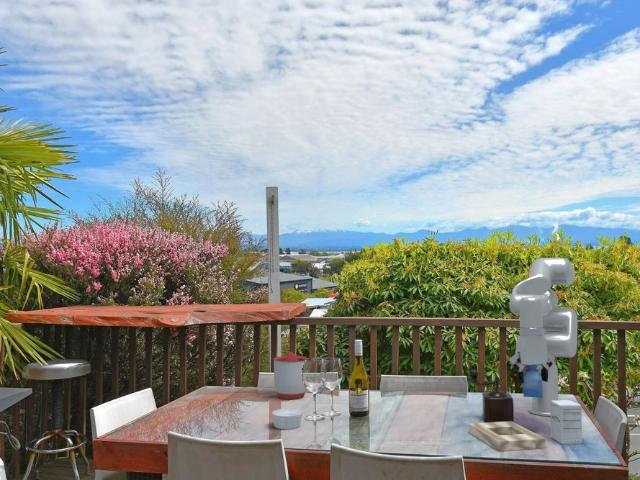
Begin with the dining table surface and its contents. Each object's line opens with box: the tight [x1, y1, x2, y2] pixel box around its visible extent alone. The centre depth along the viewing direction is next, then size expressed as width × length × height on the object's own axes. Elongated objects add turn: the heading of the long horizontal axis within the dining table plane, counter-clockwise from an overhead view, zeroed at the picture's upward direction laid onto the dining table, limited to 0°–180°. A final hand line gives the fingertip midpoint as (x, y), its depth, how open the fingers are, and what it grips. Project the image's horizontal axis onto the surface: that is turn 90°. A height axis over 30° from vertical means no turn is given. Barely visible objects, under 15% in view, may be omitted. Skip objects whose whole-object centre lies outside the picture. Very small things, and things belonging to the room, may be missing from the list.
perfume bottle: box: [522, 365, 542, 398], centre depth 215 cm, size 6×6×12 cm
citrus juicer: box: [273, 351, 308, 400], centre depth 272 cm, size 16×17×20 cm
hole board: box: [468, 421, 546, 452], centre depth 204 cm, size 16×22×3 cm
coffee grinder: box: [467, 369, 515, 423], centre depth 230 cm, size 16×11×18 cm
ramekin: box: [271, 407, 303, 431], centre depth 223 cm, size 11×11×5 cm
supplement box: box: [550, 399, 583, 445], centre depth 203 cm, size 7×7×13 cm
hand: (532, 381), depth 215 cm, fingers closed on perfume bottle, 8 cm apart
